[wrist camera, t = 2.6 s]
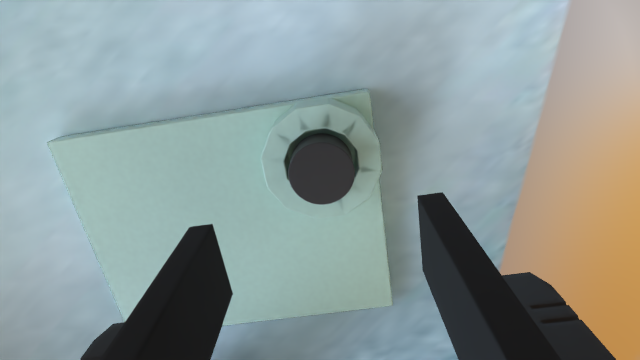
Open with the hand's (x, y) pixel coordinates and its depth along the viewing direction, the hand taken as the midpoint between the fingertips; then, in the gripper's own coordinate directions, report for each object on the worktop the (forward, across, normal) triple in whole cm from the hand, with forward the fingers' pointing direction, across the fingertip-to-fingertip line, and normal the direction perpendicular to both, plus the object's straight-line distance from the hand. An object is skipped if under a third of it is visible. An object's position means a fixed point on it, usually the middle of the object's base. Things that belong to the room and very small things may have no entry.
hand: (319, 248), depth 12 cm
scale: (+11, -6, -4) cm, 13 cm away
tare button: (+8, 0, 0) cm, 8 cm away
